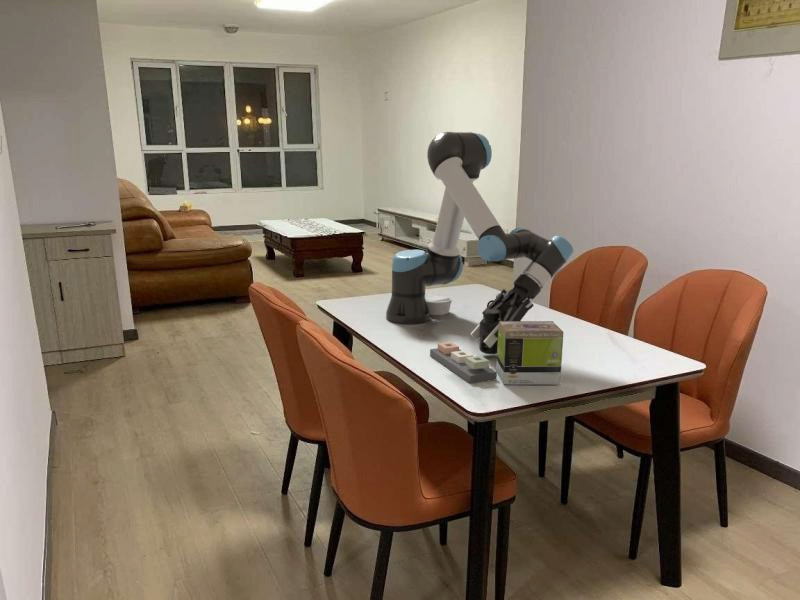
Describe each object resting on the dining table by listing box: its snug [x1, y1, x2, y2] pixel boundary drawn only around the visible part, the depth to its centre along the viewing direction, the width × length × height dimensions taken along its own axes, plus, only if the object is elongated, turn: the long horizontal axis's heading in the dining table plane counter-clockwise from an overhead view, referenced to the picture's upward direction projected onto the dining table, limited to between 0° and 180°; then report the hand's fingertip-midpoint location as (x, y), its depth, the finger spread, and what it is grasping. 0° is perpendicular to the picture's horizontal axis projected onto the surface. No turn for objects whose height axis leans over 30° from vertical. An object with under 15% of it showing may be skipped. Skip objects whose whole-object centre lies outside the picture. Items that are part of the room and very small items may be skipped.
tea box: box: [496, 320, 564, 386], centre depth 166 cm, size 15×10×15 cm, turn 92°
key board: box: [429, 347, 498, 384], centre depth 175 cm, size 23×8×2 cm, turn 24°
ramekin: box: [425, 294, 453, 316], centre depth 230 cm, size 11×11×5 cm
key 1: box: [437, 341, 460, 354], centre depth 181 cm, size 4×4×2 cm
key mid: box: [451, 350, 474, 363], centre depth 174 cm, size 4×4×2 cm
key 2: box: [465, 354, 490, 369], centre depth 167 cm, size 4×4×2 cm
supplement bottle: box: [478, 308, 502, 355], centre depth 182 cm, size 7×7×12 cm
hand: (480, 340), depth 181 cm, fingers closed on supplement bottle, 7 cm apart
